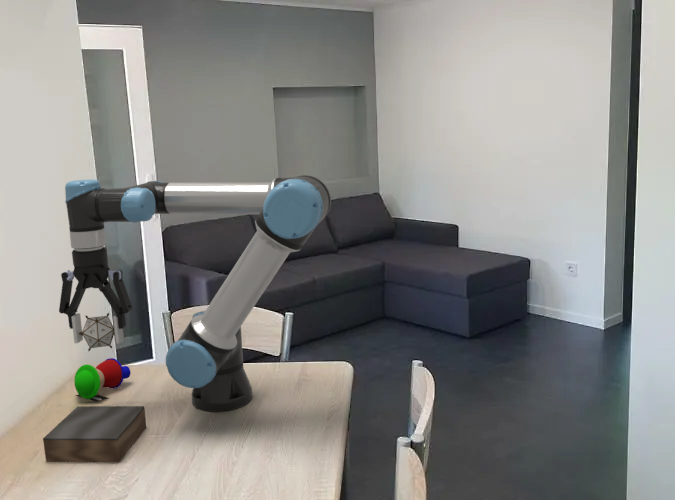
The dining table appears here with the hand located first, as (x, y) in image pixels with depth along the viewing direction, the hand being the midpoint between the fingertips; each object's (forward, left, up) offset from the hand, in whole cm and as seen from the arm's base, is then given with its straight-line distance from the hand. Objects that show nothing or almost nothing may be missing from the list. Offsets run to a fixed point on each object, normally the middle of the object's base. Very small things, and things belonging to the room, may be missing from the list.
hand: (99, 341), depth 159 cm
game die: (0, 0, -2) cm, 2 cm away
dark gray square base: (-3, +13, -20) cm, 24 cm away
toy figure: (+8, -16, -20) cm, 27 cm away
